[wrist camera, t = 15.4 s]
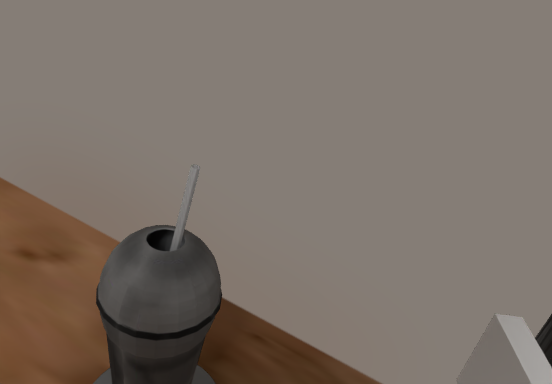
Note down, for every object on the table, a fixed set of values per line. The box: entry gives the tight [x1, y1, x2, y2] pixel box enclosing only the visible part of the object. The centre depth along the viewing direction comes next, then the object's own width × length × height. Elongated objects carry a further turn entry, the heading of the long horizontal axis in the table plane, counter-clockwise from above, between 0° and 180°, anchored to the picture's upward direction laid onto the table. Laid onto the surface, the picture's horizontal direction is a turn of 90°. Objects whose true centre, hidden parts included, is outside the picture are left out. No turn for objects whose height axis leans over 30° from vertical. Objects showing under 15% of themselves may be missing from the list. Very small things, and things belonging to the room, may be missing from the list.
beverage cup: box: [96, 165, 222, 384], centre depth 29 cm, size 7×7×20 cm
